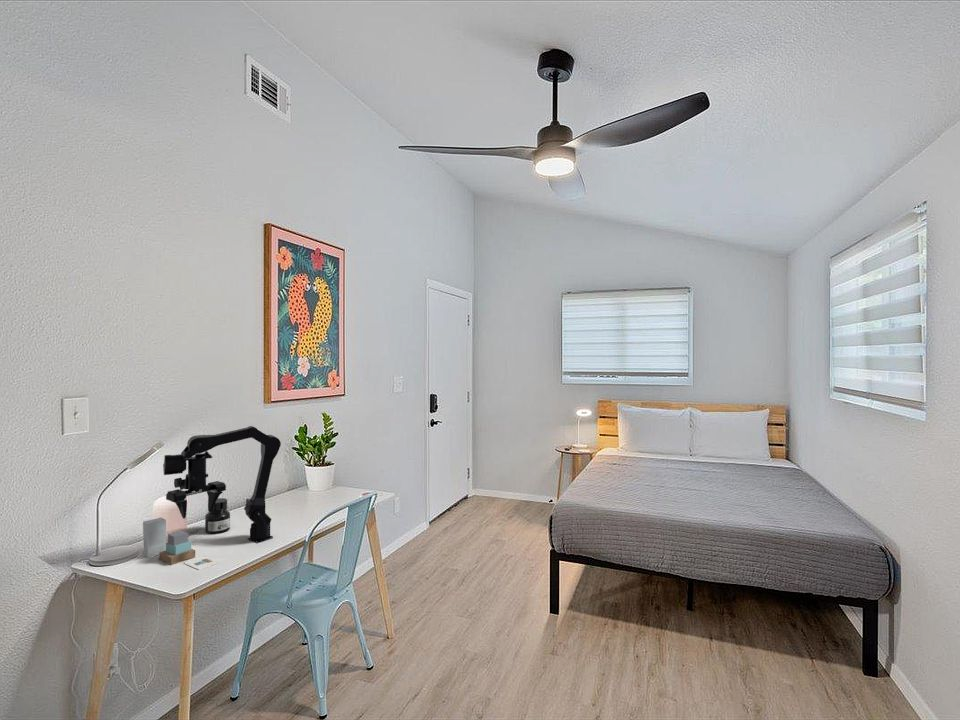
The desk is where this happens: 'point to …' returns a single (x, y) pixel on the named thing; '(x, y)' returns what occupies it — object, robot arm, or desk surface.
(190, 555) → the base block
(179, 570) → the desk surface
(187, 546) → the teal block
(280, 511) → the desk surface
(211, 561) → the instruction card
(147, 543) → the skincare box
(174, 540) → the grey block
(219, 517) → the ink bottle
